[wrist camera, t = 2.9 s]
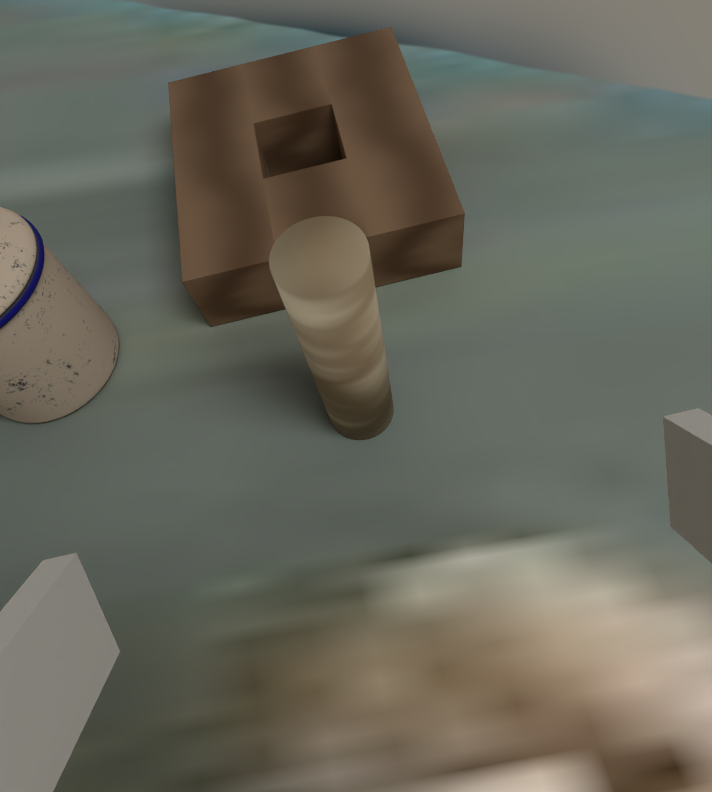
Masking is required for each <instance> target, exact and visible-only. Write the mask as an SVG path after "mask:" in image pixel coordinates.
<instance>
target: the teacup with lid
mask: <svg viewBox="0 0 712 792" xmlns="http://www.w3.org/2000/svg"><path fill="white" fill-rule="evenodd" d="M118 351H119V340H118V334H117V331H116V328H115V326H114V324H113V322H112V320H111V319H110V318H109V316H108V315H107V314H106V313H105V312H104V311H103V310H102V309H101V307H100V306H99V305H98V304H97V303H96V302H95V301H94V300H93V299H92V297H91V296H90V295H89V294H88V293H87V292H86V291H85V290H84V289H83V287H82V286H81V285H80V284H79V283H78V282H77V281H76V280H75V279H74V277H73V276H72V275H71V274H70V273H69V272H68V271H67V270H66V268H65V267H64V266H63V265H62V264H61V263H60V262H59V261H58V260H57V258H56V257H55V256H54V255H53V254H52V253H51V252H50V251H49V250H48V248H47V247H46V246H45V245H44V244H43V241H42V238H41V236H40V234H39V232H38V231H37V229H36V228H35V227H34V226H33V225H32V224H31V223H30V222H29V221H28V220H27V219H25V218H24V217H22V216H20V215H18V214H16V213H15V212H13V211H11V210H8V209H5V208H2V207H0V414H1V415H3V416H4V417H7V418H9V419H11V420H14V421H18V422H23V423H41V422H47V421H52V420H55V419H58V418H61V417H64V416H66V415H68V414H70V413H72V412H74V411H76V410H77V409H79V408H80V407H82V406H83V405H85V404H86V403H87V402H88V401H90V400H91V399H92V398H93V397H94V396H95V395H96V394H97V393H98V392H99V391H100V390H101V388H102V387H103V386H104V385H105V383H106V382H107V380H108V379H109V377H110V375H111V373H112V371H113V369H114V367H115V364H116V361H117V357H118Z"/></svg>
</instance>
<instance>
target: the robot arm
mask: <svg viewBox="0 0 712 792" xmlns="http://www.w3.org/2000/svg"><path fill="white" fill-rule="evenodd" d="M663 424H664V438H665V453H666V467H667V482H668V496H669V511H670V525H671V527H672V528H673V529H674V530H675V531H676V532H677V533H678V534H680V535H681V536H682V537H683V538H684V539H685V540H686V541H687V542H688V543H690V544H691V545H692V546H693V547H694V548H695V549H696V550H697V551H699V552H700V553H701V554H702V555H703V556H704V557H705V558H706V559H707V560H709V561H710V562H711V563H712V415H710V414H708V413H706V412H704V411H702V410H700V409H693V410H689V411H685V412H680V413H676V414H672V415H667V416H663ZM119 653H120V650H119V648H118V646H117V644H116V641H115V639H114V637H113V635H112V632H111V630H110V628H109V626H108V623H107V621H106V619H105V616H104V614H103V612H102V610H101V607H100V605H99V603H98V601H97V598H96V596H95V594H94V592H93V589H92V587H91V585H90V583H89V580H88V578H87V576H86V574H85V571H84V569H83V567H82V565H81V562H80V560H79V558H78V555H77V553H73V554H68V555H64V556H60V557H55V558H51V559H47V560H43V561H42V562H41V563H40V564H39V566H38V567H37V568H36V569H35V570H34V572H33V573H32V574H31V575H30V576H29V578H28V579H27V580H26V581H25V582H24V584H23V585H22V586H21V587H20V588H19V590H18V591H17V592H16V593H15V594H14V596H13V597H12V598H11V599H10V600H9V602H8V603H7V604H6V605H5V606H4V608H3V609H2V610H1V611H0V792H53V791H54V789H55V787H56V784H57V782H58V780H59V778H60V776H61V774H62V772H63V770H64V768H65V766H66V764H67V762H68V759H69V757H70V755H71V753H72V751H73V749H74V747H75V745H76V743H77V741H78V739H79V736H80V734H81V732H82V730H83V728H84V726H85V724H86V722H87V720H88V718H89V716H90V713H91V711H92V709H93V707H94V705H95V703H96V701H97V699H98V697H99V695H100V693H101V690H102V688H103V686H104V684H105V682H106V680H107V678H108V676H109V674H110V672H111V670H112V667H113V665H114V663H115V661H116V659H117V657H118V655H119Z"/></svg>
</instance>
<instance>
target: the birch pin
mask: <svg viewBox="0 0 712 792" xmlns="http://www.w3.org/2000/svg"><path fill="white" fill-rule="evenodd" d="M269 267H270V271H271V274H272V276H273V279H274V281H275V284H276V286H277V289H278V291H279V294H280V296H281V299H282V301H283V304H284V306H285V309H286V311H287V314H288V316H289V318H290V321H291V323H292V326H293V328H294V331H295V333H296V336H297V338H298V341H299V343H300V346H301V348H302V351H303V353H304V356H305V358H306V361H307V363H308V366H309V368H310V371H311V373H312V376H313V378H314V381H315V383H316V386H317V388H318V391H319V393H320V396H321V398H322V400H323V403H324V405H325V408H326V410H327V413H328V415H329V418H330V420H331V423H332V425H333V426H334V428H335V429H336V430H337V431H338V432H339V433H340V434H341V435H343V436H345V437H347V438H350V439H354V440H365V439H370V438H373V437H375V436H377V435H379V434H380V433H381V432H383V431H384V430H385V429H386V428H387V426H388V425H389V423H390V422H391V419H392V416H393V411H394V409H393V400H392V394H391V387H390V381H389V374H388V367H387V361H386V354H385V348H384V341H383V335H382V328H381V321H380V315H379V308H378V302H377V295H376V289H375V282H374V275H373V269H372V262H371V256H370V249H369V243H368V240H367V238H366V236H365V234H364V233H363V232H362V230H361V229H360V228H359V227H358V226H356V225H355V224H353V223H352V222H350V221H348V220H345V219H343V218H339V217H333V216H318V217H313V218H308V219H305V220H302V221H300V222H298V223H296V224H294V225H292V226H291V227H289V228H288V229H287V230H285V231H284V232H283V233H282V234H281V235H280V236H279V237H278V239H277V240H276V241H275V243H274V245H273V247H272V249H271V252H270V256H269Z"/></svg>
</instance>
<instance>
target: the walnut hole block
mask: <svg viewBox="0 0 712 792" xmlns="http://www.w3.org/2000/svg"><path fill="white" fill-rule="evenodd" d="M168 87H169V101H170V116H171V130H172V144H173V158H174V172H175V186H176V200H177V214H178V229H179V243H180V257H181V271H182V282H183V284H184V285H185V287H186V289H187V290H188V292H189V293H190V295H191V296H192V298H193V300H194V301H195V303H196V304H197V306H198V307H199V309H200V311H201V312H202V314H203V315H204V317H205V318H206V320H207V322H208V323H209V325H210V326H211V327H212V326H216V325H220V324H224V323H229V322H233V321H237V320H241V319H245V318H249V317H254V316H258V315H262V314H266V313H270V312H274V311H278V310H283V309H285V306H284V304H283V301H282V299H281V296H280V294H279V291H278V289H277V286H276V284H275V281H274V279H273V276H272V274H271V271H270V267H269V256H270V252H271V249H272V247H273V245H274V243H275V241H276V240H277V239H278V237H279V236H280V235H281V234H282V233H283V232H284V231H285V230H287V229H288V228H289V227H291V226H292V225H294V224H296V223H298V222H300V221H302V220H305V219H308V218H313V217H318V216H333V217H339V218H343V219H345V220H348V221H350V222H352V223H353V224H355V225H356V226H358V227H359V228H360V229H361V230H362V232H363V233H364V234H365V236H366V238H367V240H368V243H369V249H370V256H371V262H372V269H373V275H374V282H375V287H378V286H382V285H387V284H391V283H395V282H399V281H403V280H407V279H411V278H416V277H420V276H424V275H428V274H432V273H436V272H441V271H445V270H449V269H453V268H457V267H461V263H462V247H463V231H464V216H465V213H464V211H463V208H462V205H461V203H460V200H459V198H458V195H457V193H456V190H455V188H454V185H453V183H452V180H451V178H450V175H449V173H448V170H447V167H446V165H445V162H444V160H443V157H442V155H441V152H440V150H439V147H438V145H437V142H436V140H435V137H434V135H433V132H432V129H431V127H430V124H429V122H428V119H427V117H426V114H425V112H424V109H423V107H422V104H421V102H420V99H419V97H418V94H417V91H416V89H415V86H414V84H413V81H412V79H411V76H410V74H409V71H408V69H407V66H406V64H405V61H404V59H403V56H402V53H401V51H400V48H399V46H398V43H397V41H396V38H395V36H394V33H393V31H392V28H391V27H389V28H385V29H381V30H377V31H373V32H369V33H365V34H361V35H358V36H354V37H349V38H345V39H341V40H337V41H333V42H329V43H325V44H321V45H317V46H313V47H309V48H305V49H301V50H297V51H293V52H289V53H285V54H281V55H277V56H273V57H269V58H265V59H261V60H257V61H253V62H249V63H245V64H241V65H237V66H233V67H229V68H225V69H221V70H217V71H213V72H209V73H205V74H201V75H197V76H193V77H189V78H185V79H181V80H177V81H173V82H169V83H168Z"/></svg>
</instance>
